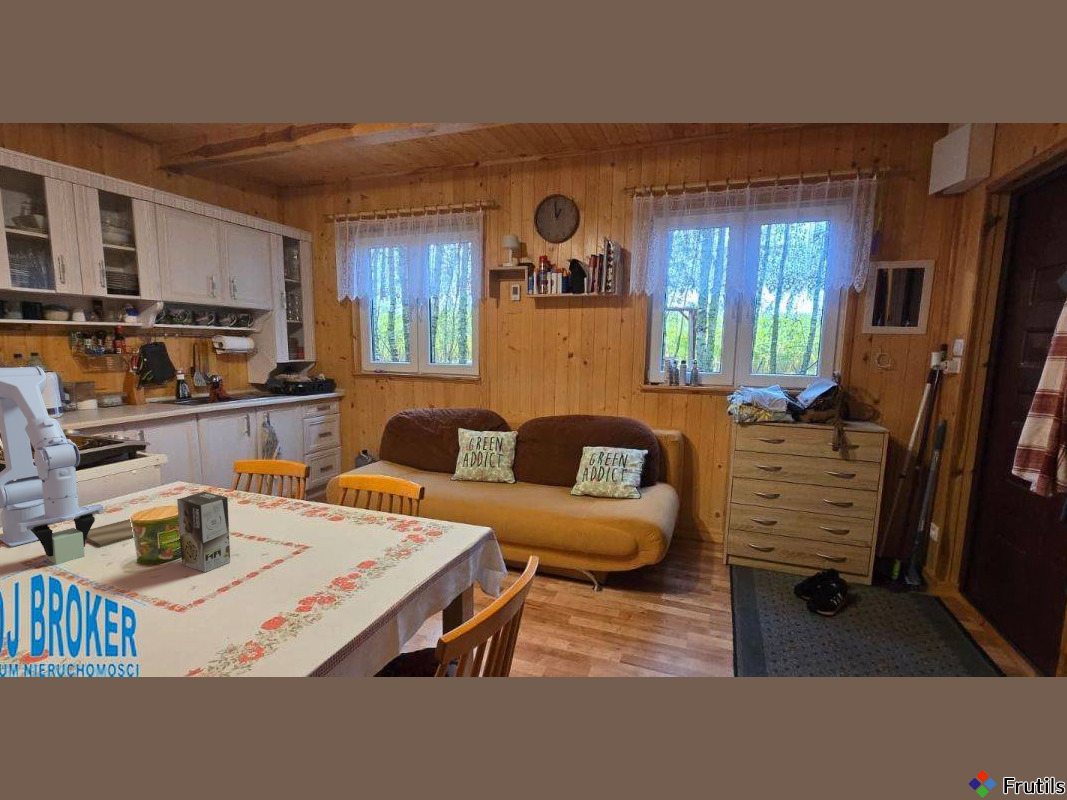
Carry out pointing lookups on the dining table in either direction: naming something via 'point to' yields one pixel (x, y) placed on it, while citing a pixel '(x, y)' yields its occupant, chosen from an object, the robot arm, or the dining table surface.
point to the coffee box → (204, 531)
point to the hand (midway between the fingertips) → (65, 550)
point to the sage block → (67, 545)
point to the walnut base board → (110, 533)
